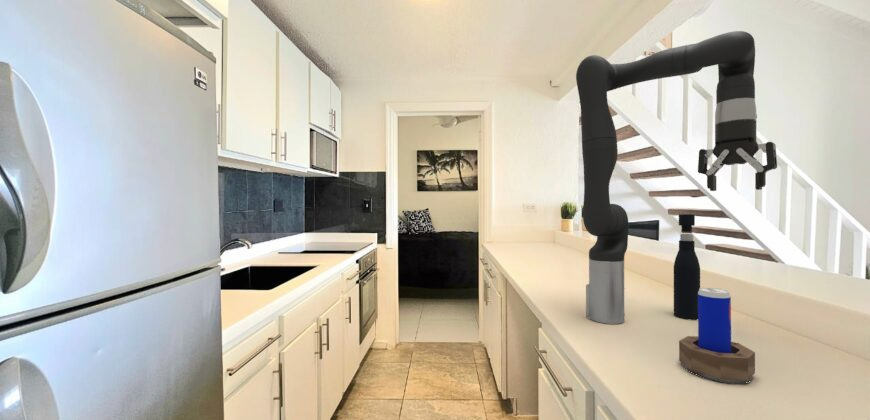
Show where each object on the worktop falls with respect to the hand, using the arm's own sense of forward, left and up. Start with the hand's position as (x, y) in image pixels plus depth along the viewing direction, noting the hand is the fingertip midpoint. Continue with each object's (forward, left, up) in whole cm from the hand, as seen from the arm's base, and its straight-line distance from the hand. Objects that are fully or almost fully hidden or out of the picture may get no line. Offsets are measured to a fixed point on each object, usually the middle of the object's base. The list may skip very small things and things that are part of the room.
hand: (735, 190), depth 86 cm
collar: (+2, -21, -36) cm, 42 cm away
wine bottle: (-15, +15, -36) cm, 42 cm away
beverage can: (+2, -21, -36) cm, 41 cm away
